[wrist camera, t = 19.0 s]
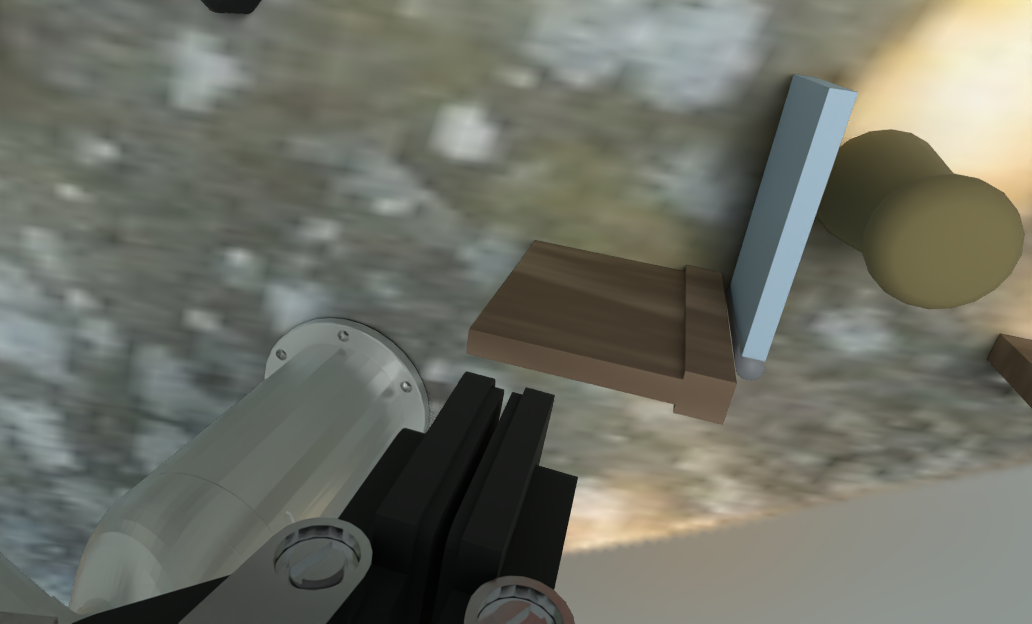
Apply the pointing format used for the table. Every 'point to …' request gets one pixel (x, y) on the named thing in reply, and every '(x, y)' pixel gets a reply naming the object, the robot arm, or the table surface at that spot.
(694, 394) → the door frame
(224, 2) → the coral
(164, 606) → the robot arm
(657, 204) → the table surface
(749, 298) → the door
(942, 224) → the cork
